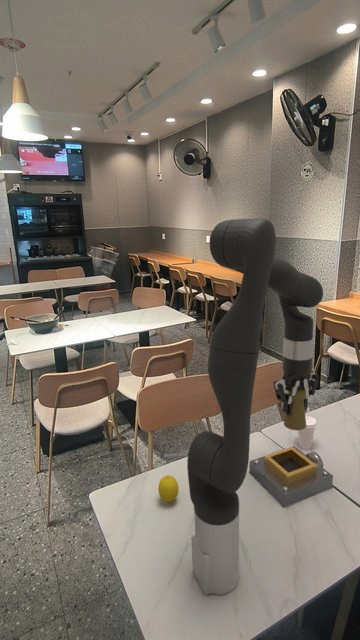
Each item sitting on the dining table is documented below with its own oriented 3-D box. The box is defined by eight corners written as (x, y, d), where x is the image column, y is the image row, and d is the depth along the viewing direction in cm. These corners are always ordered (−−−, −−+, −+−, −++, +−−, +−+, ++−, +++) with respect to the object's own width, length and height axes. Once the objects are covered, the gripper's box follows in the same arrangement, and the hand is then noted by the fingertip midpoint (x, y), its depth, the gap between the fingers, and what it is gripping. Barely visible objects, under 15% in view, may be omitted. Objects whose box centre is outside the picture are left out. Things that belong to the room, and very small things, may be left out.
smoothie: (319, 448, 122) (321, 410, 119) (303, 453, 120) (305, 414, 116) (306, 438, 128) (308, 402, 124) (291, 443, 126) (292, 406, 122)
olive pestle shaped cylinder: (307, 431, 99) (309, 393, 96) (284, 429, 100) (285, 392, 97) (305, 419, 104) (306, 383, 101) (283, 418, 106) (284, 382, 103)
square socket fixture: (284, 507, 97) (284, 486, 96) (249, 472, 112) (249, 453, 110) (336, 485, 105) (337, 466, 103) (297, 455, 119) (298, 437, 117)
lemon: (166, 491, 105) (164, 467, 103) (182, 498, 102) (181, 473, 100) (155, 504, 100) (153, 479, 98) (172, 511, 98) (170, 485, 96)
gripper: (284, 363, 91) (283, 425, 95) (329, 353, 96) (325, 412, 101) (266, 354, 97) (265, 412, 102) (308, 345, 103) (306, 400, 107)
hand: (295, 411), depth 101 cm, fingers closed on olive pestle shaped cylinder, 4 cm apart
